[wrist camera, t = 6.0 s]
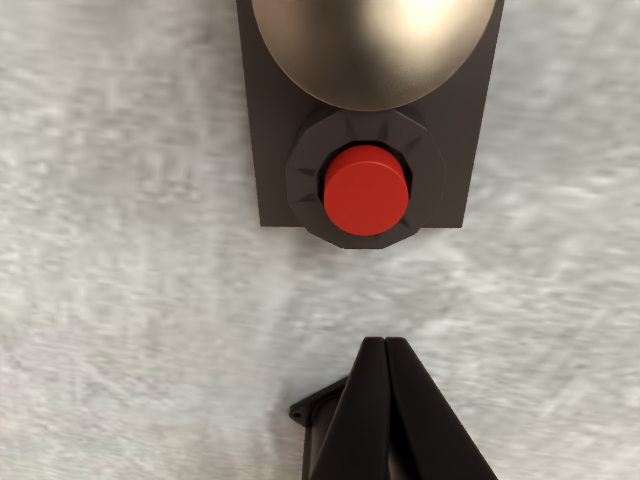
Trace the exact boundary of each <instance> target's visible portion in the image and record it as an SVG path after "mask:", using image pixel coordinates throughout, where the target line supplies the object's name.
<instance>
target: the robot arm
mask: <svg viewBox="0 0 640 480" xmlns="http://www.w3.org/2000/svg"><path fill="white" fill-rule="evenodd" d="M289 415H290V417H291V418H292V419H293V420H295V421H296V422H298V423H299V424H300V425H302V426H303V427H305V440H304V454H303V467H302V480H498V479H497V477H496V475H495V474H494V472H493V471H492V469H491V468H490V466H489V465H488V463H487V462H486V460H485V459H484V457H483V456H482V454H481V453H480V451H479V450H478V448H477V447H476V445H475V444H474V442H473V441H472V439H471V437H470V436H469V434H468V433H467V431H466V430H465V428H464V427H463V425H462V424H461V422H460V421H459V419H458V418H457V416H456V415H455V413H454V412H453V410H452V409H451V407H450V406H449V404H448V403H447V401H446V399H445V398H444V396H443V395H442V393H441V392H440V390H439V389H438V387H437V386H436V384H435V383H434V381H433V380H432V378H431V377H430V375H429V374H428V372H427V371H426V369H425V368H424V366H423V365H422V363H421V361H420V360H419V358H418V357H417V355H416V354H415V352H414V351H413V349H412V348H411V346H410V345H409V343H408V342H407V340H406V339H405V338H402V337H387V338H385V340H384V339H383V338H382V337H365V338H364V339H363V342H362V344H361V347H360V349H359V352H358V354H357V357H356V360H355V362H354V365H353V367H352V370H351V372H350V375H349V377H347V378H345V379H343V380H341V381H339V382H337V383H335V384H333V385H332V386H330V387H328V388H326V389H324V390H322V391H320V392H318V393H316V394H314V395H312V396H311V397H309V398H307V399H305V400H303V401H301V402H299V403H297V404H295V405H293V406H292V407H291V408H290V413H289Z"/></svg>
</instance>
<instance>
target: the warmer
mask: <svg viewBox="0 0 640 480" xmlns="http://www.w3.org/2000/svg"><path fill="white" fill-rule="evenodd" d="M236 3H237V12H238V22H239V31H240V40H241V50H242V59H243V68H244V77H245V87H246V96H247V105H248V114H249V124H250V133H251V142H252V151H253V161H254V170H255V179H256V188H257V198H258V207H259V216H260V225H261V226H262V227H305V228H306V229H307V231H308V232H310V233H311V234H313V235H315V236H317V237H319V238H321V239H323V240H325V241H327V242H329V243H332V244H334V245H336V246H338V247H340V248H344V249H383V248H385V247H388V246H390V245H392V244H394V243H397V242H399V241H401V240H403V239H405V238H408V237H410V236H412V235H414V234H415V233H417V232H418V231H419V229H420V228H461V227H462V223H463V218H464V213H465V207H466V202H467V197H468V191H469V186H470V181H471V175H472V170H473V165H474V160H475V154H476V149H477V144H478V138H479V133H480V128H481V122H482V117H483V112H484V106H485V101H486V96H487V91H488V85H489V80H490V75H491V69H492V64H493V59H494V53H495V48H496V43H497V37H498V32H499V27H500V21H501V16H502V11H503V6H504V0H496V2H495V6H494V9H493V12H492V15H491V18H490V20H489V22H488V24H487V27H486V29H485V31H484V33H483V35H482V37H481V39H480V40H479V42H478V44H477V45H476V47H475V49H474V50H473V52H472V53H471V54H470V56H469V57H468V58H467V60H466V61H465V62H464V63H463V65H462V66H461V67H460V68H459V69H458V70H457V71H456V72H455V73H454V74H453V75H452V76H451V77H450V78H449V79H448V80H446V81H445V82H444V83H443V84H442V85H441V86H439V87H438V88H436V89H435V90H433V91H432V92H430V93H429V94H427V95H425V96H423V97H421V98H420V99H418V100H416V101H413V102H411V103H408V104H405V105H403V106H400V107H396V108H392V109H387V110H379V111H356V110H349V109H343V108H340V107H336V106H333V105H330V104H328V103H325V102H323V101H321V100H319V99H317V98H315V97H313V96H312V95H310V94H308V93H307V92H305V91H304V90H303V89H302V88H300V87H299V86H298V85H296V84H295V83H294V82H293V81H292V80H291V79H290V78H289V77H288V76H287V75H286V74H285V73H284V72H283V70H282V69H281V68H280V66H279V65H278V64H277V63H276V61H275V60H274V58H273V57H272V55H271V53H270V52H269V50H268V48H267V46H266V44H265V42H264V40H263V38H262V35H261V33H260V31H259V28H258V24H257V21H256V18H255V15H254V10H253V4H252V0H236ZM359 145H372V146H377V147H380V148H383V149H385V150H387V151H388V152H390V153H391V154H392V155H393V156H394V157H395V158H396V159H397V160H398V162H399V163H400V165H401V168H402V171H403V174H404V178H405V182H406V185H407V189H408V205H407V208H406V210H405V212H404V214H403V216H402V217H401V219H400V220H399V221H398V222H397V223H396V224H395V225H394V226H393V227H391V228H390V229H388V230H386V231H384V232H381V233H379V234H375V235H367V236H362V235H354V234H351V233H348V232H346V231H344V230H342V229H340V228H339V227H337V226H336V225H335V224H334V223H333V222H332V221H331V219H330V218H329V216H328V215H327V213H326V210H325V207H324V186H325V176H326V172H327V169H328V167H329V165H330V163H331V162H332V161H333V159H334V158H335V157H336V156H337V155H339V154H340V153H341V152H343V151H344V150H346V149H348V148H351V147H354V146H359Z"/></svg>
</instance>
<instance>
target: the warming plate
mask: <svg viewBox="0 0 640 480" xmlns="http://www.w3.org/2000/svg"><path fill="white" fill-rule="evenodd" d="M495 2H496V0H252V4H253V10H254V15H255V18H256V21H257V24H258V28H259V31H260V33H261V35H262V38H263V40H264V42H265V44H266V46H267V48H268V50H269V52H270V53H271V55H272V57H273V58H274V60H275V61H276V63H277V64H278V65H279V66H280V68H281V69H282V70H283V72H284V73H285V74H286V75H287V76H288V77H289V78H290V79H291V80H292V81H293V82H294V83H295V84H296V85H298V86H299V87H300V88H302V89H303V90H304V91H305V92H307V93H308V94H310V95H312V96H313V97H315V98H317V99H319V100H321V101H323V102H325V103H328V104H330V105H333V106H336V107H340V108H343V109H349V110H356V111H379V110H387V109H392V108H396V107H400V106H403V105H405V104H408V103H411V102H413V101H416V100H418V99H420V98H421V97H423V96H425V95H427V94H429V93H430V92H432V91H433V90H435V89H436V88H438V87H439V86H441V85H442V84H443V83H444V82H445V81H446V80H448V79H449V78H450V77H451V76H452V75H453V74H454V73H455V72H456V71H457V70H458V69H459V68H460V67H461V66H462V65H463V63H464V62H465V61H466V60H467V58H468V57H469V56H470V54H471V53H472V52H473V50H474V49H475V47H476V45H477V44H478V42H479V40H480V39H481V37H482V35H483V33H484V31H485V29H486V27H487V24H488V22H489V20H490V18H491V15H492V12H493V9H494V6H495Z"/></svg>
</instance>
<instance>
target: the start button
mask: <svg viewBox="0 0 640 480" xmlns="http://www.w3.org/2000/svg"><path fill="white" fill-rule="evenodd" d="M407 205H408V189H407V185H406V182H405V178H404V174H403V171H402V168H401V165H400V163H399V162H398V160H397V159H396V158H395V157H394V156H393V155H392V154H391V153H390V152H388V151H387V150H385V149H383V148H380V147H377V146H372V145H359V146H354V147H351V148H348V149H346V150H344V151H343V152H341V153H340V154H339V155H337V156H336V157H335V158H334V159H333V161H332V162H331V163H330V165H329V167H328V169H327V172H326V176H325V186H324V207H325V210H326V213H327V215H328V216H329V218H330V219H331V221H332V222H333V223H334V224H335V225H336V226H337V227H339V228H340V229H342V230H344V231H346V232H348V233H351V234H354V235H362V236H367V235H375V234H379V233H381V232H384V231H386V230H388V229H390V228H391V227H393V226H394V225H395V224H396V223H397V222H398V221H399V220H400V219H401V217H402V216H403V214H404V212H405V210H406V208H407Z"/></svg>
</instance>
